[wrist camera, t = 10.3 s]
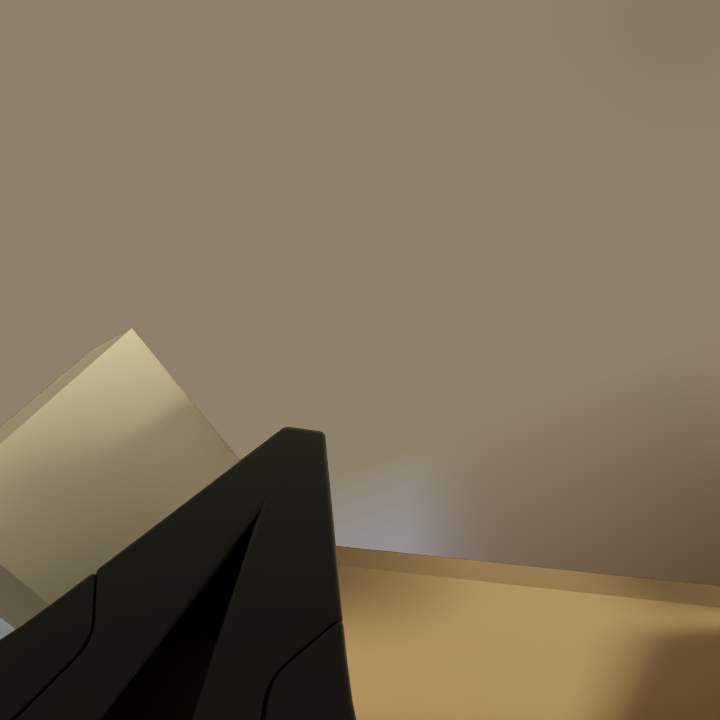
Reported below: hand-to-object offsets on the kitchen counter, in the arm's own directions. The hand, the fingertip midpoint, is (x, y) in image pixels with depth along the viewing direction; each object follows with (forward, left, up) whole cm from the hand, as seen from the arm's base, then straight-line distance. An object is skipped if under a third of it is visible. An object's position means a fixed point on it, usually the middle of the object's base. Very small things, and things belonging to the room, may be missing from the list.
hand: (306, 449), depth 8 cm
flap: (-3, -1, -1) cm, 3 cm away
